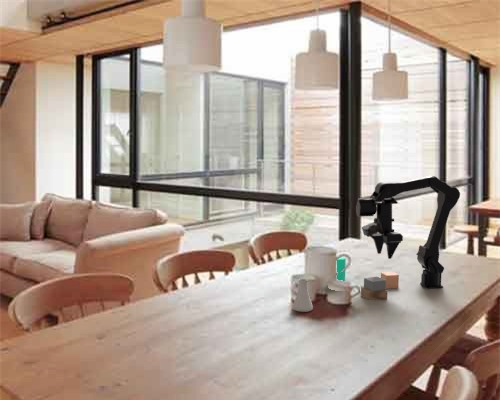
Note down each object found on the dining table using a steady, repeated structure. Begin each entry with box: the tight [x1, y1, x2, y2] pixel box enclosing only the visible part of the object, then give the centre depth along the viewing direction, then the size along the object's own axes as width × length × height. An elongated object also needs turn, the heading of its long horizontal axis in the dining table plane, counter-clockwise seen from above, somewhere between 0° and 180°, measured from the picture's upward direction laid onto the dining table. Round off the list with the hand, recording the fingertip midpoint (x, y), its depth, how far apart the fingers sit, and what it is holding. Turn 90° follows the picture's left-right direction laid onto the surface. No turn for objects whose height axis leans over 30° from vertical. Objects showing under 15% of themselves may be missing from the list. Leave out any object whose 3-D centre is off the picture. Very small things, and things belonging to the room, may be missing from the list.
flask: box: [291, 278, 314, 313], centre depth 181 cm, size 7×7×10 cm
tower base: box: [360, 285, 388, 301], centre depth 195 cm, size 7×7×4 cm
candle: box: [337, 256, 347, 282], centre depth 212 cm, size 6×6×12 cm
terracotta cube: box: [380, 271, 400, 289], centre depth 210 cm, size 5×5×5 cm
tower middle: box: [363, 276, 387, 291], centre depth 195 cm, size 6×6×4 cm
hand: (384, 256), depth 208 cm, fingers open, 9 cm apart
